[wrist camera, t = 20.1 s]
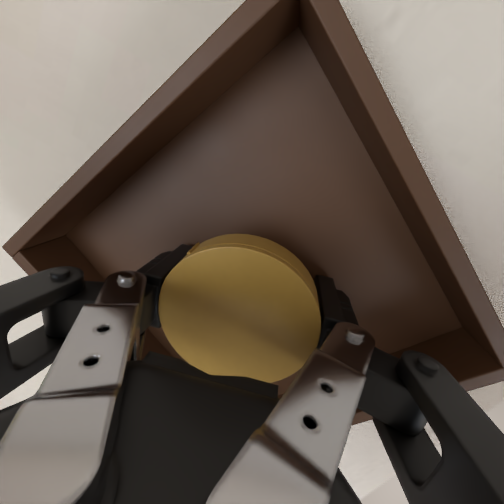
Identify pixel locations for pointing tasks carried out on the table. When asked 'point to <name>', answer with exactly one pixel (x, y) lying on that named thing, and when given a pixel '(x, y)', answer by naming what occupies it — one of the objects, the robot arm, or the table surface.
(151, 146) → the tray
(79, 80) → the table surface
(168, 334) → the lid
